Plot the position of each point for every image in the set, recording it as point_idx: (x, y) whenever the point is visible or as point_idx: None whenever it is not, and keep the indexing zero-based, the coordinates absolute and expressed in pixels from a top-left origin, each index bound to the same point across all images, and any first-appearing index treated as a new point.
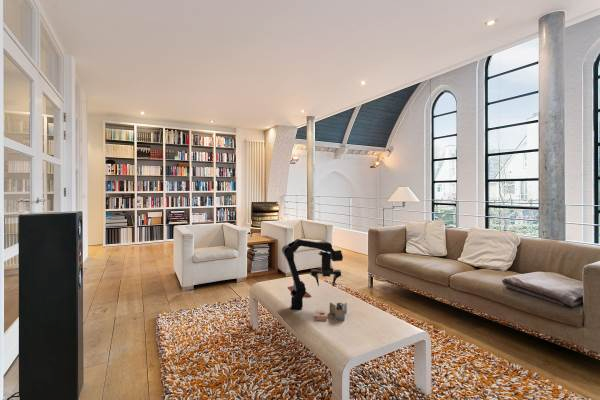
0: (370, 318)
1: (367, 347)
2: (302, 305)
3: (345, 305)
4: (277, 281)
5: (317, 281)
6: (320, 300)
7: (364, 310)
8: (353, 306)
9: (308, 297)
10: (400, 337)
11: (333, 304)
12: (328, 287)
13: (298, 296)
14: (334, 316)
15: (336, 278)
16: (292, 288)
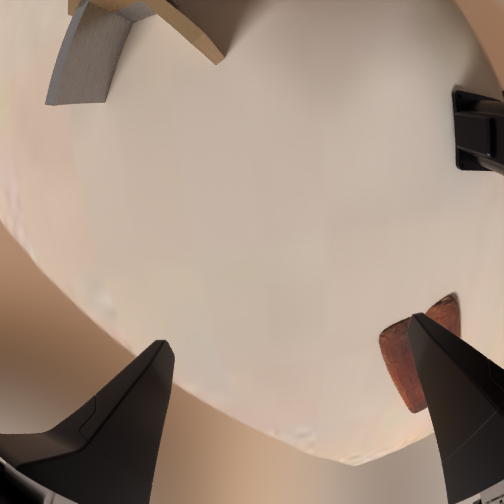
0: (3, 97)
1: None
2: (463, 115)
3: (60, 72)
4: None
5: (476, 363)
6: (323, 296)
7: (28, 191)
8: (82, 235)
9: (398, 322)
10: None
11: (156, 4)
12: (276, 431)
13: None
14: (177, 2)
15: (32, 435)
16: None
